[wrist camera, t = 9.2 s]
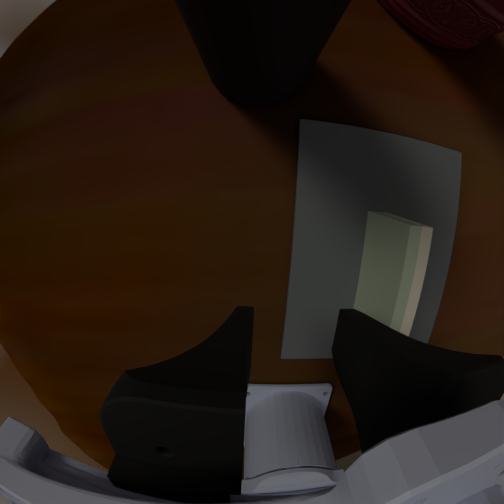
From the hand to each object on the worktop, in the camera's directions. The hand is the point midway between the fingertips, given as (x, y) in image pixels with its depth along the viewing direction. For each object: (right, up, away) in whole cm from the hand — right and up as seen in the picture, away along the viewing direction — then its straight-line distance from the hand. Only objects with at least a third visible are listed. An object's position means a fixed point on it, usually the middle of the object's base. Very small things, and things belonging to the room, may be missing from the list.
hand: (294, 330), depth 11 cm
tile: (+7, +2, +9) cm, 11 cm away
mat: (+8, +3, +9) cm, 12 cm away
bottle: (-1, +16, +6) cm, 17 cm away
